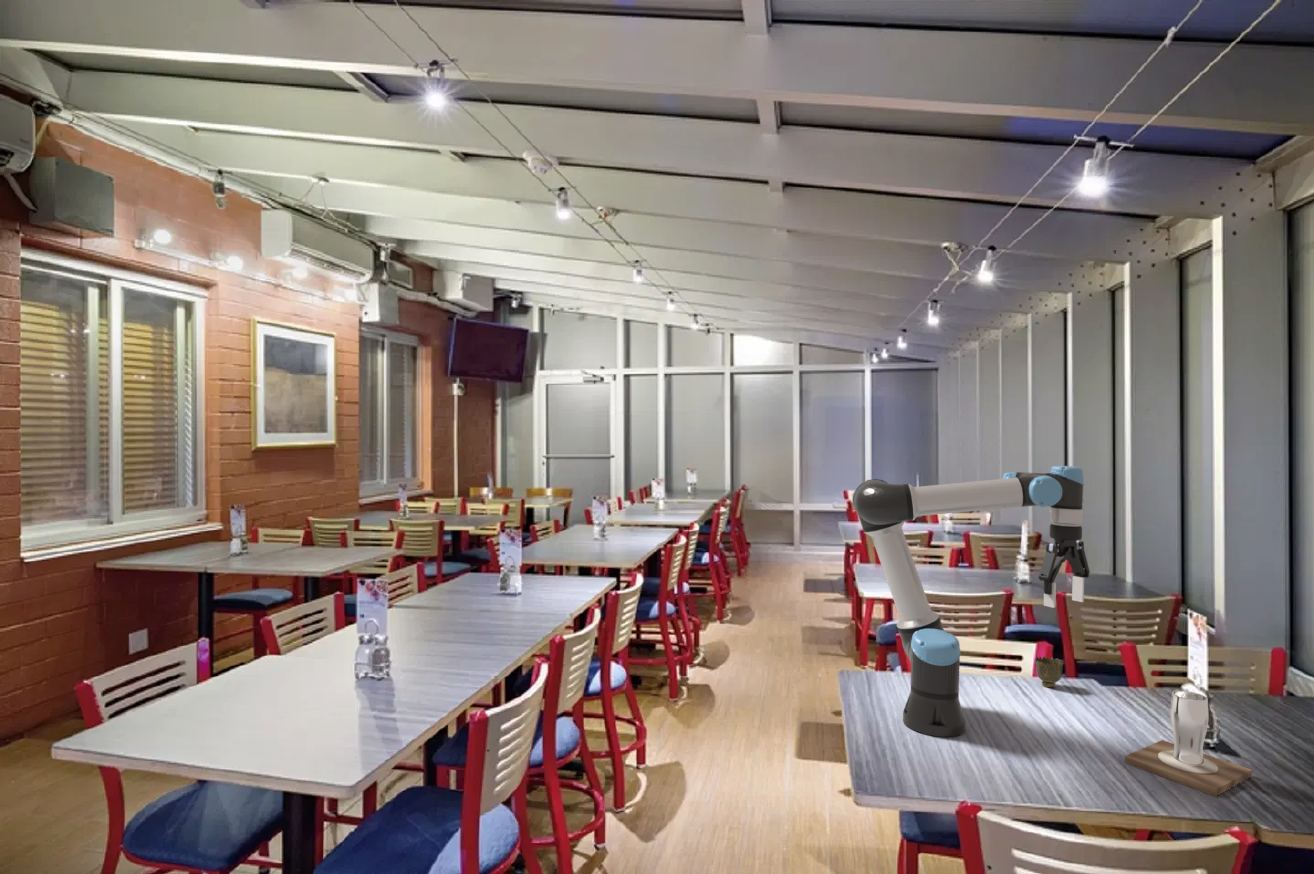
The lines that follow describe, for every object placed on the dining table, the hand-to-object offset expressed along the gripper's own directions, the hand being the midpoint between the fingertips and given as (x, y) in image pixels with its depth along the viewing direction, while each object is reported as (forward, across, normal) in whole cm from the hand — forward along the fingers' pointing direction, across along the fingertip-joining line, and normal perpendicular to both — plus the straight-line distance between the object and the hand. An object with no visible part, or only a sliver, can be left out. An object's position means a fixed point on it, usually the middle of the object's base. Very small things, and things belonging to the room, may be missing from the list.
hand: (1063, 603), depth 194 cm
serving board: (+31, +4, +31) cm, 44 cm away
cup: (+31, -22, -16) cm, 41 cm away
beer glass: (+29, +4, +31) cm, 43 cm away
